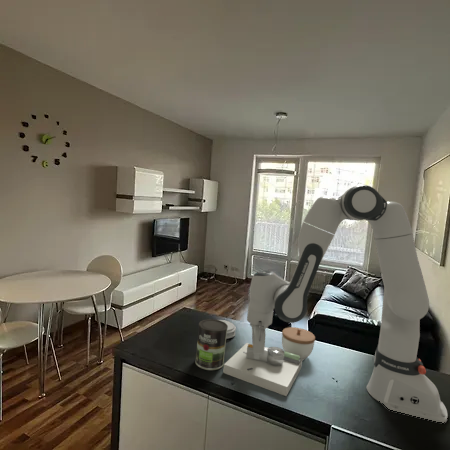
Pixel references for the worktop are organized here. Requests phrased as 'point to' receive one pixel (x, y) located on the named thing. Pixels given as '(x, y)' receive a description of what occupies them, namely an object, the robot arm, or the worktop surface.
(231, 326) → the lid
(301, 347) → the lidded bowl
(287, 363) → the base
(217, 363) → the coffee can
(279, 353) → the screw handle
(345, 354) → the worktop surface
